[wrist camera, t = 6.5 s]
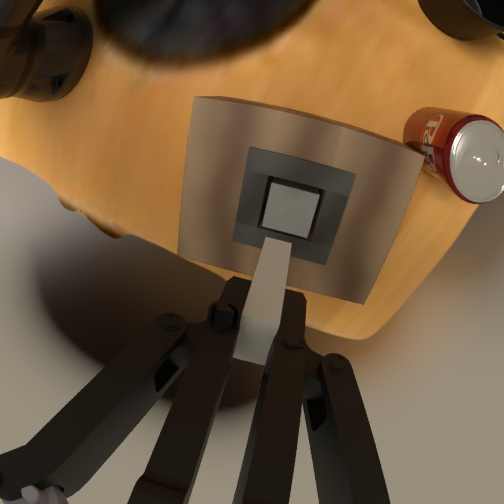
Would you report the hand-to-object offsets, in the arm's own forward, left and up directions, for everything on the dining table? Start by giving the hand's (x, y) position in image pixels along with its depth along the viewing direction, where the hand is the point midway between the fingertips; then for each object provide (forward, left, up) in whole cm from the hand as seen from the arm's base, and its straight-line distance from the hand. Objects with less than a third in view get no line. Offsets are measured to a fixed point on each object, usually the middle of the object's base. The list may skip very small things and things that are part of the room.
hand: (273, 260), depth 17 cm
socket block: (0, 0, -18) cm, 18 cm away
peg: (0, 0, -17) cm, 17 cm away
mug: (+14, +27, -18) cm, 35 cm away
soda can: (+14, +10, -18) cm, 24 cm away
